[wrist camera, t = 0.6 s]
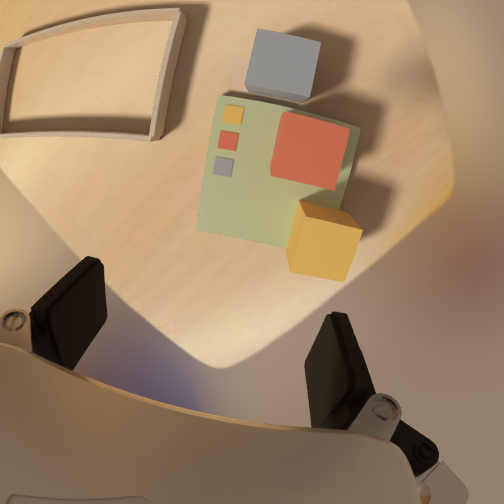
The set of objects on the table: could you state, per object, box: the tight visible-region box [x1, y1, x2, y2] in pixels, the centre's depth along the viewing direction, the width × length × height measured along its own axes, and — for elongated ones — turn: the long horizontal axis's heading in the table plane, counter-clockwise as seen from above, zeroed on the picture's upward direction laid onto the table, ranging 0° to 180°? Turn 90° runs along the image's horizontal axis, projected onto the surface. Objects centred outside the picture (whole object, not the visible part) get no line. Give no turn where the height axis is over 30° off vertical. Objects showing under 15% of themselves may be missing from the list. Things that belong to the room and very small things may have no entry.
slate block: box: [245, 29, 321, 103], centre depth 24 cm, size 6×6×6 cm
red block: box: [270, 111, 350, 191], centre depth 26 cm, size 6×6×6 cm
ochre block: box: [286, 200, 363, 282], centre depth 30 cm, size 6×6×6 cm
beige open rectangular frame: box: [0, 8, 188, 142], centre depth 25 cm, size 16×32×3 cm, turn 79°
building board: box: [196, 95, 361, 248], centre depth 31 cm, size 16×16×1 cm
